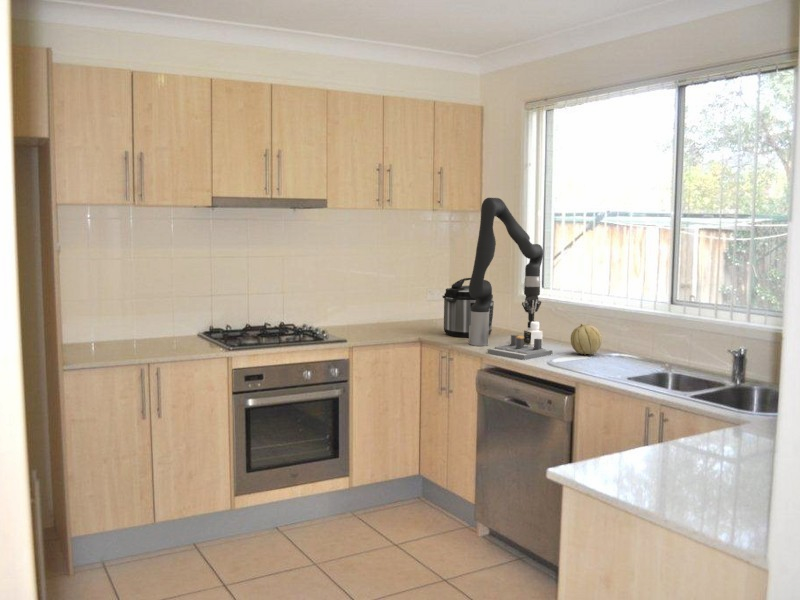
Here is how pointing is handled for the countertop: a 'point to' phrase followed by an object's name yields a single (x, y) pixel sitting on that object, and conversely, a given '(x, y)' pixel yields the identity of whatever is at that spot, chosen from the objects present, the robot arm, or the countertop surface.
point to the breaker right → (537, 344)
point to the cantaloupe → (586, 339)
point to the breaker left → (513, 340)
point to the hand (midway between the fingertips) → (531, 320)
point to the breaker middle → (520, 342)
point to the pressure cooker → (460, 310)
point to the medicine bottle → (532, 332)
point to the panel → (518, 352)
